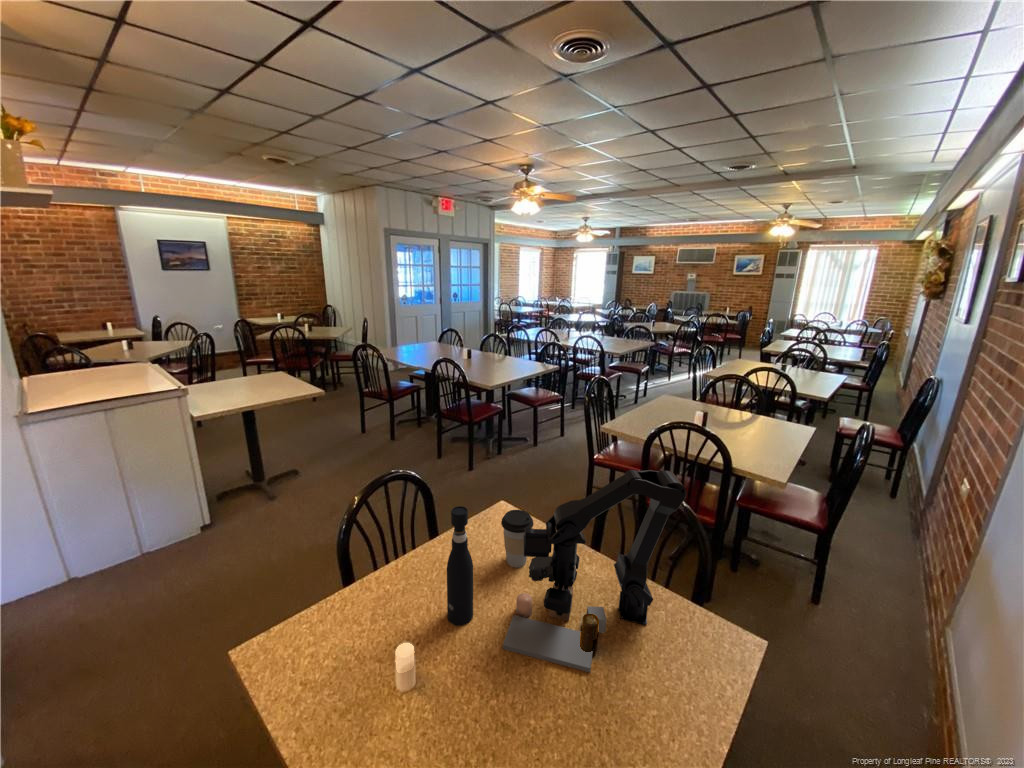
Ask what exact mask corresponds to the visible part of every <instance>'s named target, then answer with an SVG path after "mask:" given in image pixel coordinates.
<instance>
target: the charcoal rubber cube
mask: <svg viewBox="0 0 1024 768" xmlns="http://www.w3.org/2000/svg"><path fill="white" fill-rule="evenodd" d="M587 614H594V615H596V616H597V617H598V619H599V633H598V634H606V628H607V616H606V612H605V609H604V606H591V605H589V606H586V615H587Z"/></svg>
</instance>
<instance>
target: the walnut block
mask: <svg viewBox="0 0 1024 768" xmlns="http://www.w3.org/2000/svg"><path fill="white" fill-rule="evenodd" d="M564 586H565V585H564ZM558 587H559V584H558ZM558 587H556V586H554V584H553V586H552V588H555V589H558ZM563 590H564V587H563ZM568 590H569V591H570V593H571V595H572V596H573V594H574V593H573V592H574V586H572V587H571V586H569V587H568ZM564 591H565V590H564ZM572 607H573V603H572V604H571V609H570V613H568V614H566V613H563V614H562V616H559V615H557V613H556V611H553V610H549V613H548V614H549V617H552V618H554V619H558V620H564V621H567V622H568V621H569V622H570V616H571V613H572Z"/></svg>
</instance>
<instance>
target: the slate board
mask: <svg viewBox="0 0 1024 768" xmlns="http://www.w3.org/2000/svg"><path fill="white" fill-rule="evenodd" d="M580 632H581V631H580V630H576V629H572V628H567V627H563V626H559V625H555V624H552V623H547V622H543V621H539V620H535V619H532V618H529V617H528V618H524V617H520V616H518V615H517V614H516V615H515V614H513V615H512V617H511V621H510V623H509V626H508V630H507V633H506V635H505V637H504V640H503V643H502V649H503V650H505V651H508V652H512V653H517V654H520V655H525V656H527V657H531V658H534V659H538V660H543V661H546V662H549V663H553V664H557V665H561V666H564V667H568V668H571V669H575V670H579V671H583V672H586V673H591V668H592V660H593V659H592V658H593V652H594V650H593V651H591V652H585V651H583V650H582V649H581V647H580Z"/></svg>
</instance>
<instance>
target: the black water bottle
mask: <svg viewBox="0 0 1024 768" xmlns="http://www.w3.org/2000/svg"><path fill="white" fill-rule="evenodd" d="M468 513H469V511H468V508H467V507H465V506H462V505H459V506H455V507H453V508H452V509H451V510H450V515H451V516H450V520H451V522H450V523H451V525H452V527H454V528H453V533H452V538H451V551H450V553H449V556H448V559H447V565H446V596H447V597H446V598H447V599H446V601H447V602H446V603H447V605H446V606H447V609H446V610H447V620H448V622H449V623H450V624H452V625H453V626H456V627H457V626H458V627H460V626H462V627H463V626H466V625H467V624H469V623H470V622H471V621H472V619H473V617H474V563H473V559H472V556H471V553H470V549H468V546H469V544H468V536H467V534H468V533H467V531H466V526H467V525H468V523H469V516H468V515H469V514H468Z"/></svg>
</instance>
